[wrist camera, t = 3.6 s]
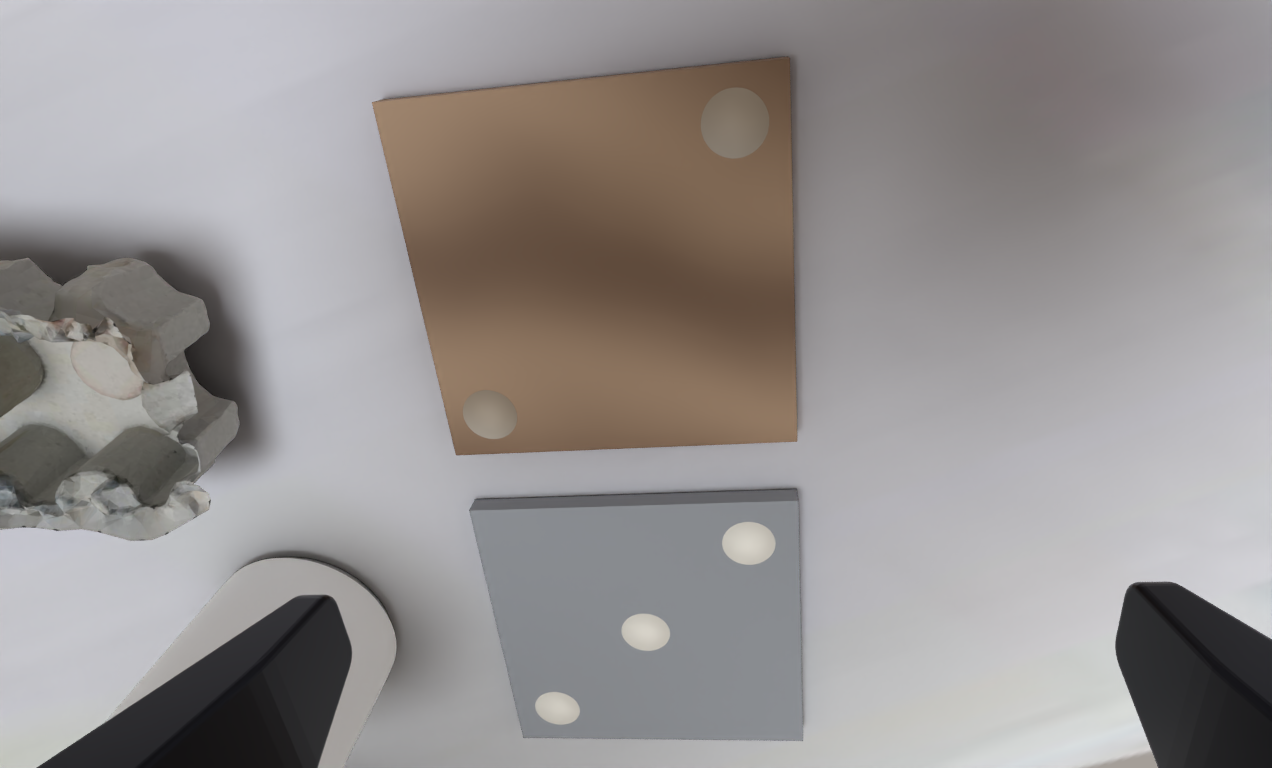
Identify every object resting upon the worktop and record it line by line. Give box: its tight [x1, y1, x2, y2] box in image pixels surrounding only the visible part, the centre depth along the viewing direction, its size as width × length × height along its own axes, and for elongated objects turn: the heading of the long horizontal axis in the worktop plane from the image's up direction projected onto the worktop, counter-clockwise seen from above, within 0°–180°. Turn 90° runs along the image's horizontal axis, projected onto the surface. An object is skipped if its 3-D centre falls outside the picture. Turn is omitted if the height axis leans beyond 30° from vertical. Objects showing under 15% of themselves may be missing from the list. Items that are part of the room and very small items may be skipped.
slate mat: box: [469, 489, 803, 741], centre depth 26 cm, size 10×10×1 cm
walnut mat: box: [372, 57, 797, 455], centre depth 21 cm, size 10×10×1 cm
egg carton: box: [0, 258, 240, 541], centre depth 21 cm, size 11×8×4 cm
